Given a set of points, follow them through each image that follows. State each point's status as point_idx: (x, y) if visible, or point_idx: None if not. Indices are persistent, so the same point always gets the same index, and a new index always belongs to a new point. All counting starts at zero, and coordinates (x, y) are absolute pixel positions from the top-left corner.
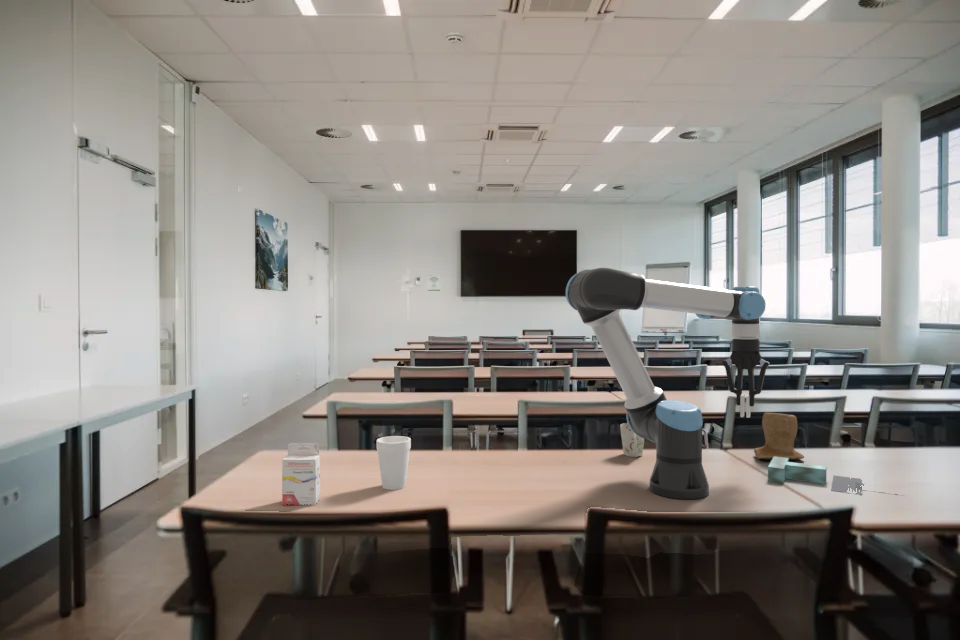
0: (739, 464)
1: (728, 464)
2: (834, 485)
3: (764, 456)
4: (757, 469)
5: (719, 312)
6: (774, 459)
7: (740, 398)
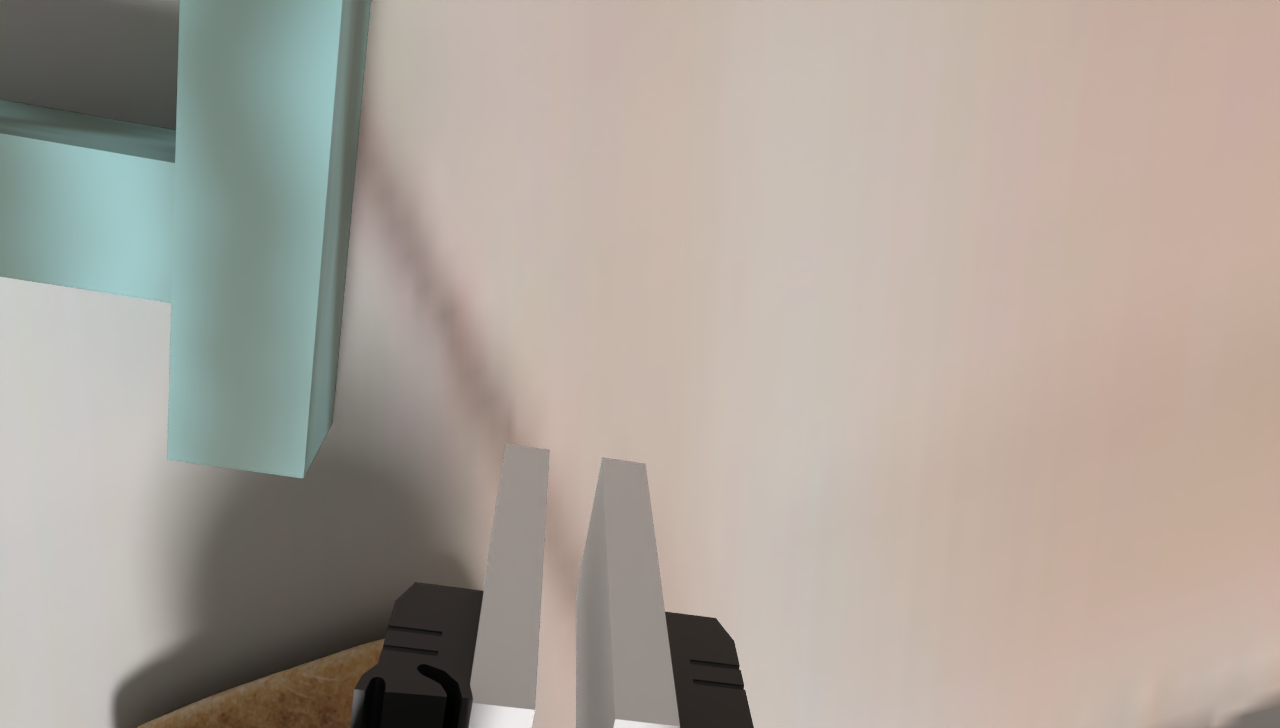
0: None
1: (703, 445)
2: None
3: None
4: (466, 367)
5: None
6: (292, 352)
7: (670, 675)
